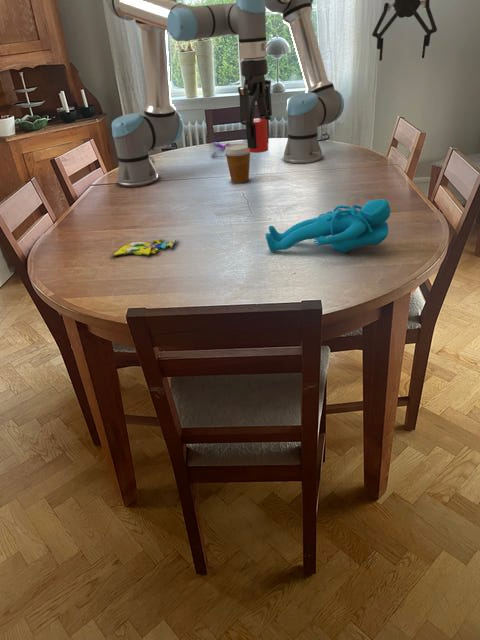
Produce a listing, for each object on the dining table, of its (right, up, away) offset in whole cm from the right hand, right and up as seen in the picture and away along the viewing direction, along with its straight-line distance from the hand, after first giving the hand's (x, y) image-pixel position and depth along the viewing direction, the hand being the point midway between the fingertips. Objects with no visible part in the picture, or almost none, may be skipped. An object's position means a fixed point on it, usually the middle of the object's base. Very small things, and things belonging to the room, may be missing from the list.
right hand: (401, 59), depth 162 cm
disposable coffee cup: (-55, -38, +12) cm, 67 cm away
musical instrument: (-62, -14, +51) cm, 81 cm away
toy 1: (-80, -69, -32) cm, 111 cm away
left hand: (-49, -35, -16) cm, 63 cm away
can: (-49, -36, -16) cm, 63 cm away
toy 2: (-33, -71, -41) cm, 88 cm away
